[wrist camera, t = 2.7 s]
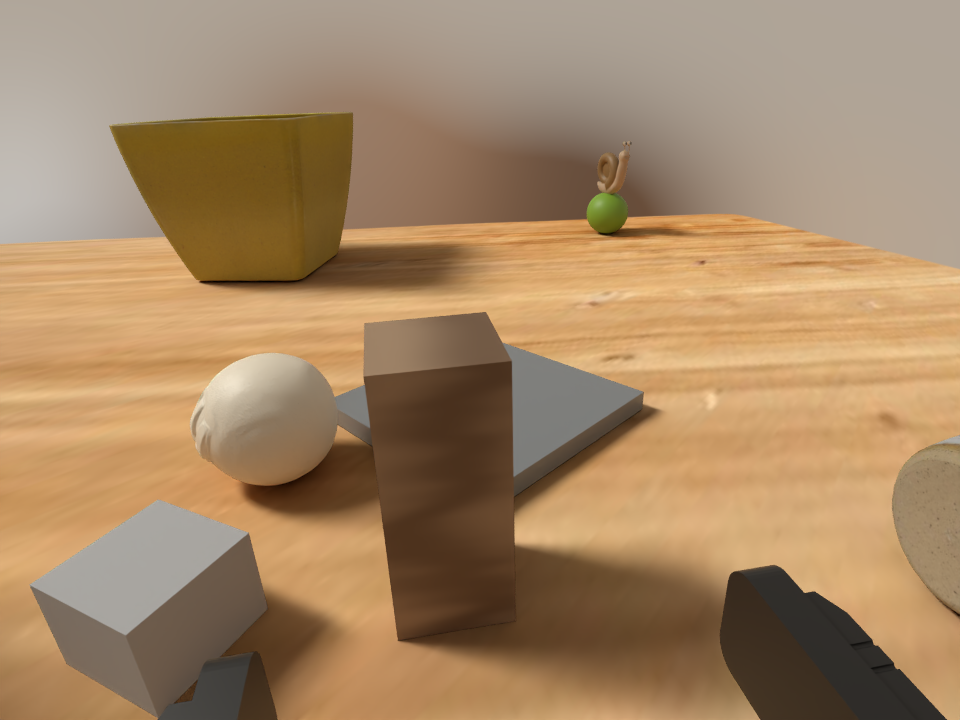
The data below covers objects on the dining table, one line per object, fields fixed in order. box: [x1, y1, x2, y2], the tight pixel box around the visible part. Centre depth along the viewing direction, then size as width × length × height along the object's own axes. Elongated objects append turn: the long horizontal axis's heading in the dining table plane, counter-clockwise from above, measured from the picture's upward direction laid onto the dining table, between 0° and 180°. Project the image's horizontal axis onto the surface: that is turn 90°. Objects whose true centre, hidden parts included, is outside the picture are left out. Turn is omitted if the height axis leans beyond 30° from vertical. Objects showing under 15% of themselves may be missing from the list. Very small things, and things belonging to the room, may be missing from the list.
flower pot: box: [109, 112, 353, 281], centre depth 68 cm, size 19×19×17 cm
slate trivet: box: [335, 343, 644, 496], centre depth 37 cm, size 14×14×1 cm
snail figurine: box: [587, 141, 631, 233], centre depth 78 cm, size 5×6×12 cm
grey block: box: [30, 500, 268, 718], centre depth 22 cm, size 5×5×4 cm
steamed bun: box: [190, 353, 338, 486], centre depth 31 cm, size 7×7×7 cm
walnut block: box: [364, 312, 516, 640], centre depth 22 cm, size 4×4×11 cm
